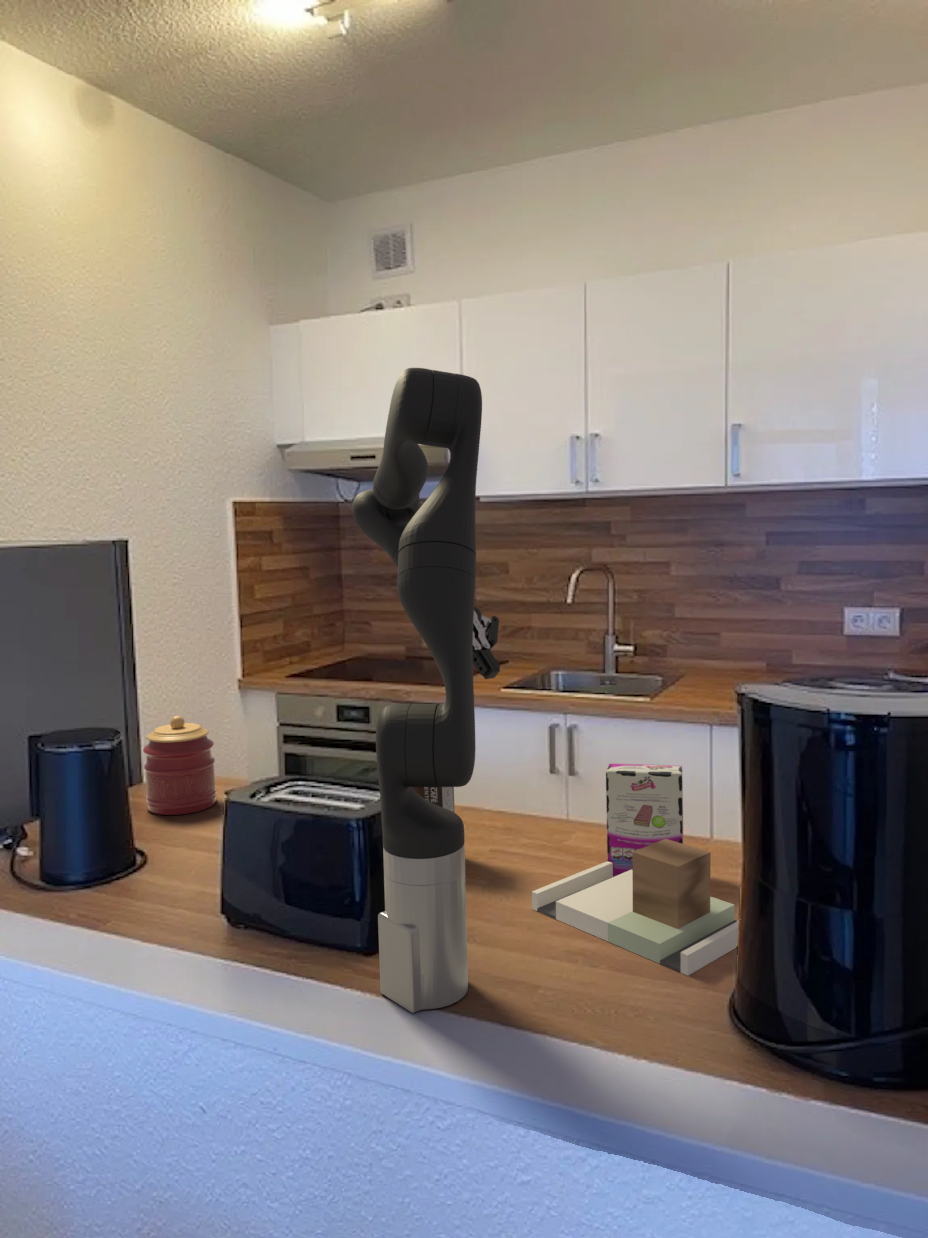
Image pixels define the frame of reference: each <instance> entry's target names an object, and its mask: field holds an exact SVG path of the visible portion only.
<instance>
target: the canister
mask: <svg viewBox="0 0 928 1238" xmlns="http://www.w3.org/2000/svg"><path fill="white" fill-rule="evenodd" d="M209 733H210V732H209V730H208V729H207V728H205V727H203V726H201V725H200V724H198V723H193V722H186V721H185V719H184V717H183V716H181V715H174V716H173V717H172V718H171V719H170V723H169V724H166V725H162V726H158V727H156V728H155V729H154V730H153V731H152V732H150V733H149V734H147V736H146V739H147V740H148V741H149V742H148V744H146V745H145V746H144V747H143V750H142V751H143V753H144V754H145V755H146V763H145V764H144V765H143V769H144V771H145V772H144V773H145V783H146V784H145V785H146V796H145V799H146V805H147V809H148V811H149V812H151V813H152V814H155V815H163V816H176V815H177V816H180V815H188V814H193V813H197V812H200V811H204V810H206V809H209V808H211V807H212V806H214V805H215V803H216V801H217V800H216V798H217V788H216V777H215V761H216V760H215V758H214V756H213V753H212V748H213V747H214V745H215V742H214V740H212V739H211V738H208V735H209Z"/></svg>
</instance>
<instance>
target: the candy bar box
mask: <svg viewBox="0 0 928 1238" xmlns="http://www.w3.org/2000/svg"><path fill="white" fill-rule="evenodd" d="M683 782H684V781H683V765H670V764H668V765H667V764H638V763H637V764H636V763H635V764H634V763H609V764H608V767H607V768H606V772H605V793H606V794H605V796H606V797H605V798H606V803H605V804H606V849H607V850H606V851H607V852H606V853H607V855H606V856H607V861H609V862H612V863H613V877H615V876H617V875H619V874H622V873H624V872H626V871H629V870H631V869H632V870H633V867H632V852H634V851H637V850H639V849H641V848H644V847H646V846H649V845H651V844H654V843H656V842H659V841H661V840H664V839H668V840H671V841H675V842H678V843H681V844H684V797H683V796H684V795H683V793H684V791H683V787H684V786H683V785H684V784H683ZM607 861H606V862H607Z"/></svg>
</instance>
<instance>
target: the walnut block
mask: <svg viewBox="0 0 928 1238" xmlns="http://www.w3.org/2000/svg"><path fill="white" fill-rule="evenodd" d="M711 864H712V863H711V851H707V850H705V849H701V848H699V847H694V846H691V845H689V844H684V843H683V844H681V843H678V842H675V841H671V840H668V839H664V840H661V841H659V842H656V843H654V844H651V845H649V846H646V847H644V848H641V849H639V850H637V851H634V852H632V867H633V912H635V913H637V914H640V915H642V916H645V917H648V918H650V919H653V920H655V921H658V922H661V923H663V924H666V925H668V926H671V927H674V928H676V929H679V928H681V927H683V926H685V925H687V924H688V923H690V922H692V921H694V920H696V919H698V918H700V917H702V916H704V915H706V914H708V913H710V896H711Z"/></svg>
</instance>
